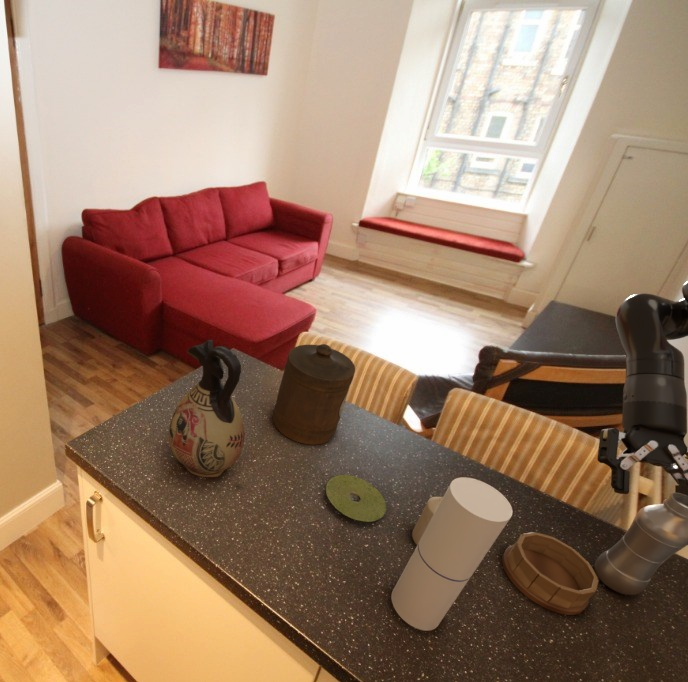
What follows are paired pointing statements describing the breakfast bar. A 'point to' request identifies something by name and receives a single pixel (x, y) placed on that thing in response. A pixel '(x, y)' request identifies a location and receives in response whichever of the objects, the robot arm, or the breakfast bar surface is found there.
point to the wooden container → (312, 393)
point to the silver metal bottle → (645, 546)
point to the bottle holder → (550, 573)
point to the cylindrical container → (450, 551)
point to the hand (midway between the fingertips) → (652, 501)
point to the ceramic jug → (209, 416)
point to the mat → (355, 498)
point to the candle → (425, 518)
